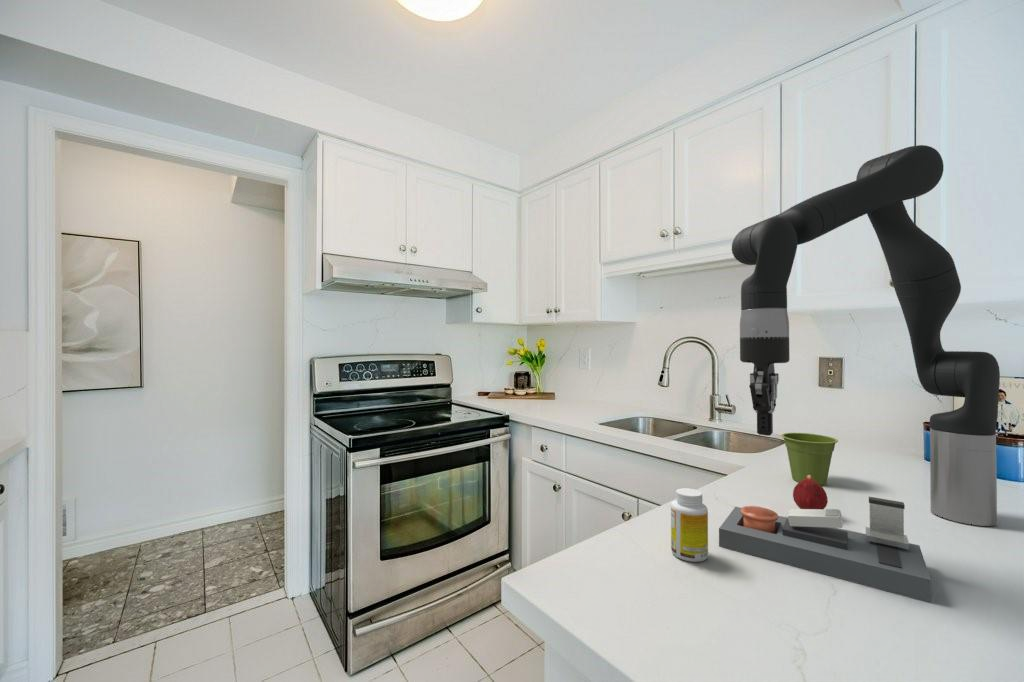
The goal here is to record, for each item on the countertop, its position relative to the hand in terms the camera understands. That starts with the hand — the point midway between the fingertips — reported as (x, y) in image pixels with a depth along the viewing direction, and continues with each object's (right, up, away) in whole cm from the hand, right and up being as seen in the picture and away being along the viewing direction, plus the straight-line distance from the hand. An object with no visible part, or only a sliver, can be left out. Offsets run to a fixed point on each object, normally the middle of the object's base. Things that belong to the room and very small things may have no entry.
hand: (764, 434), depth 76 cm
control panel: (+5, -19, -5) cm, 20 cm away
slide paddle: (+15, -15, -8) cm, 22 cm away
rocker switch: (+5, -13, -5) cm, 14 cm away
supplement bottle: (-16, -19, -6) cm, 25 cm away
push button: (-1, -18, 0) cm, 18 cm away
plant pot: (+31, -20, +34) cm, 50 cm away
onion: (+16, -19, +12) cm, 27 cm away
